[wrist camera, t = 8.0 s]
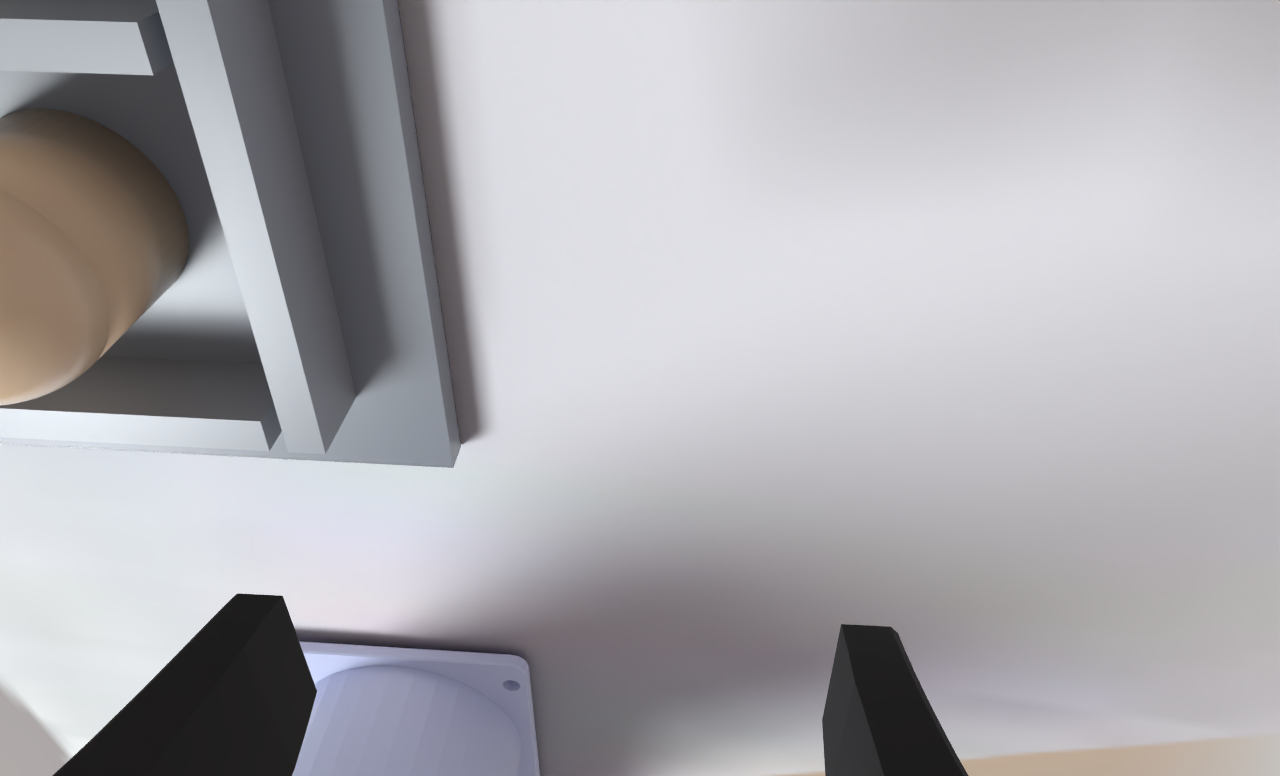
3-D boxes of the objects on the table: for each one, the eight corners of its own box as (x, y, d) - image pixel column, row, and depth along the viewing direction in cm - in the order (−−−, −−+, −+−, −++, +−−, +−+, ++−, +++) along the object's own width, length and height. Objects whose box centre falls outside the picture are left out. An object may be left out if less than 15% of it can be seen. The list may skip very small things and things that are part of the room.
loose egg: (212, 308, 19) (75, 463, 15) (21, 297, 19) (-167, 448, 15) (154, 113, 17) (-29, 234, 13) (-64, 103, 17) (-317, 220, 13)
